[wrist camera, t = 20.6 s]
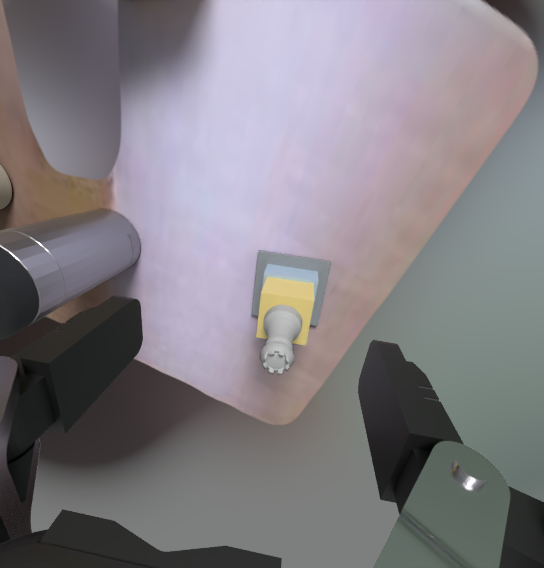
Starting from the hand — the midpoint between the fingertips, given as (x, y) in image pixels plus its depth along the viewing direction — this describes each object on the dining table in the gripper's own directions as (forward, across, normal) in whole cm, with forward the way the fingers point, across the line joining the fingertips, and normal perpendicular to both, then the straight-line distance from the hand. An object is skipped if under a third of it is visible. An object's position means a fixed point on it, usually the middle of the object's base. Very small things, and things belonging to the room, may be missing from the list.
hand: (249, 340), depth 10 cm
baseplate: (+30, -1, +11) cm, 32 cm away
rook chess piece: (+21, -1, +11) cm, 24 cm away
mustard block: (+26, -1, +11) cm, 28 cm away
